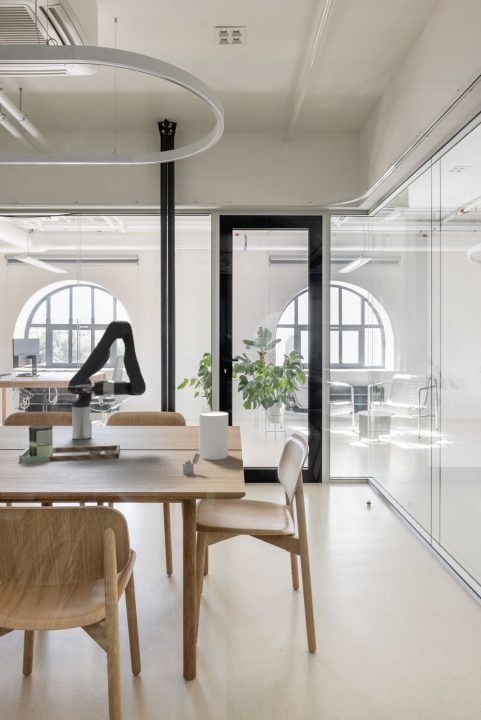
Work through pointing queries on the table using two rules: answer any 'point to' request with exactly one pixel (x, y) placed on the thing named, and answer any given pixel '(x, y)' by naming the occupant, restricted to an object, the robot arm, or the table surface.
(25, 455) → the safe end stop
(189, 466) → the lighter
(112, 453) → the mats
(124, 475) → the table surface
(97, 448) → the walnut lane
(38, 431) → the coffee can
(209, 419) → the canister
